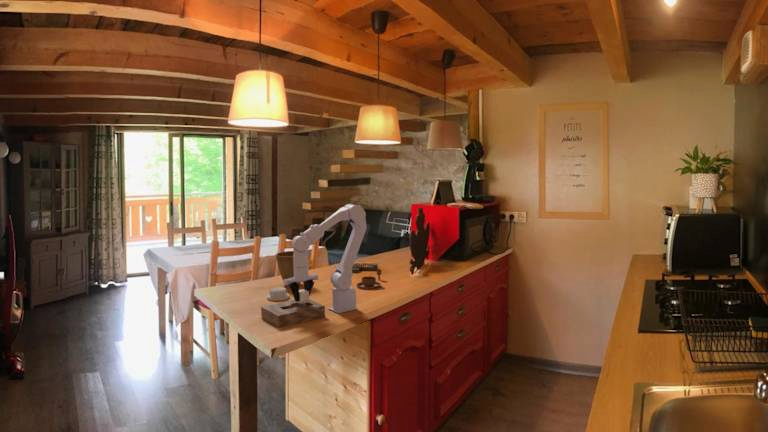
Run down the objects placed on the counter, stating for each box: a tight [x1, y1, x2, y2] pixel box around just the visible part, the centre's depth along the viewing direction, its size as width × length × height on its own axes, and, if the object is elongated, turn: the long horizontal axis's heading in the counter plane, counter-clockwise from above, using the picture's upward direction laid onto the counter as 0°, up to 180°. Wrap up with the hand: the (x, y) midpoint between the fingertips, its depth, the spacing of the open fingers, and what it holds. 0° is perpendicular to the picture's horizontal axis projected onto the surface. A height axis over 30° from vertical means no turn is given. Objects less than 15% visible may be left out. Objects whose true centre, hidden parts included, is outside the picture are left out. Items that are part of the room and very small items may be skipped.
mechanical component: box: [266, 287, 290, 302], centre depth 217 cm, size 10×4×10 cm
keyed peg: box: [295, 288, 310, 308], centre depth 191 cm, size 5×5×8 cm
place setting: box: [356, 268, 386, 291], centre depth 239 cm, size 18×20×6 cm
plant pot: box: [275, 250, 301, 287], centre depth 241 cm, size 15×15×16 cm
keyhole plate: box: [260, 298, 326, 328], centre depth 189 cm, size 20×15×4 cm
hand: (301, 299), depth 191 cm, fingers closed on keyed peg, 4 cm apart
